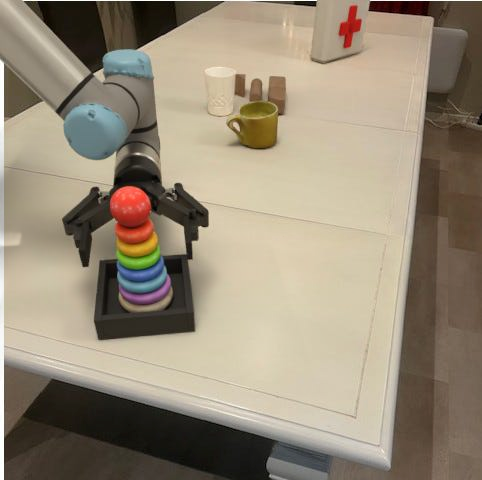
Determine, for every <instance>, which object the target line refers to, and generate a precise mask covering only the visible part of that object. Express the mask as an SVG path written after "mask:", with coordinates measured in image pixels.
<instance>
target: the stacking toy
mask: <svg viewBox="0 0 482 480" xmlns="http://www.w3.org/2000/svg"><path fill="white" fill-rule="evenodd" d="M110 210H111V213H112V216H113V217H114V219H113V220H115V221H116V224H115V226H114V233H115V235H116V237H117V238H116V241H115V242H116V247H117V248H116V251H115V255H116V259H118V261H117V269H118V274H117V278H118V282H119V291H120V292H119V302H120V304H121V306H122V307H123V308H124V309H125V310H126V311H128V312H130V313H135V312H147V311H159V310H164V309H165V308H166V307H167V306H168V305H169V304H170V302H171V300H172V298H173V289H172V287H171V280H170V277H169V276H168V274H167V270H166V267H165V266H164V260H163V257H162V256H163V255H162V253H161V252H162V250H161V247H160V245H159V237H158V235H157V233H156V232H155V231H154V230H155V226H154V223H153V221H152V219H151V218H150V215H151V203H150V200H149V198H148V196H147V195H146V194H145V192H143V191H142V190H141V189H139V188H136V187H132V186H127V187H123V188H120V189H119V190H117V191H116V192H115V193H114V194H113V196H112V198H111V201H110Z"/></svg>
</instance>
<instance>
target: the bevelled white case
mask: <svg viewBox="0 0 482 480" xmlns="http://www.w3.org/2000/svg"><path fill="white" fill-rule="evenodd" d="M370 3H371V0H316V4H315V14H314V20H313V21H314V22H313V32H312V38H311V39H312V40H311V41H312V42H311V49H310V57H311V59H312V61H314V62H317V63H319V64H325V63H329V62H333V61H335V60H336V61H337V60H339V59H342V58H346V57H349V56H353V55H356V54H359V53H360V52H361V51H362V49H363V44H364V39H365V33H366V26H367V20H368V15H369V10H370Z"/></svg>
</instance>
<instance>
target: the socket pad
mask: <svg viewBox="0 0 482 480" xmlns="http://www.w3.org/2000/svg"><path fill="white" fill-rule="evenodd" d="M162 257H163V260H164V266H165V267H166V270H167V274H168V276H169V277H170V280H171V287H172V289H173V298H172V300H171V302H170V304H169V305H168V306H167V307H166V308H165V309H164V310H159V311H147V312H135V313H130V312H128V311H126V310H125V309H124V308H123V307H122V306H121V304H120V302H119V292H120V291H119V282H118V278H117V274H118V269H117V261H118V259H117V258H109V259H100V260H99V264H98V274H97V275H98V276H97V285H96V294H95V305H94V313H93V325H94V328H95V332H96V336H97V339H98V341H103V340H116V339H126V338H127V339H128V338H137V337H147V336H158V335H159V336H160V335H170V334H181V333H192V332H196V324H195V323H196V322H195V310H194V301H193V293H192V284H191V276H190V275H191V274H190V265H189V260H187V253H182V254H168V255H162Z"/></svg>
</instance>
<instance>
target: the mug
mask: <svg viewBox="0 0 482 480" xmlns="http://www.w3.org/2000/svg"><path fill="white" fill-rule="evenodd" d="M234 123H236V124H237V125H238V127H239V130H238V129H237V128H236V127H235V126H234ZM225 124H226V126H227V127H228V129H230V130H231V131H232V132H233V133H234V134H235V135H236V137H237V139H238V141H239V142H240V143H241V145H244V146H248V147H250V148H253V149H268V148H271V147H273V146H274V145H275V144H276V142H277V140H278V127H279V126H278V124H279V114H278V108H277V106H276V105H275V104H274V103H271V102H268V100H267V101H266V100H261V101H255V102H250V101H249V102H247V103H244V104H242V105H241V106H239V108H238V110H237V114H230V115H228V117H227V119H226V122H225Z"/></svg>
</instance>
